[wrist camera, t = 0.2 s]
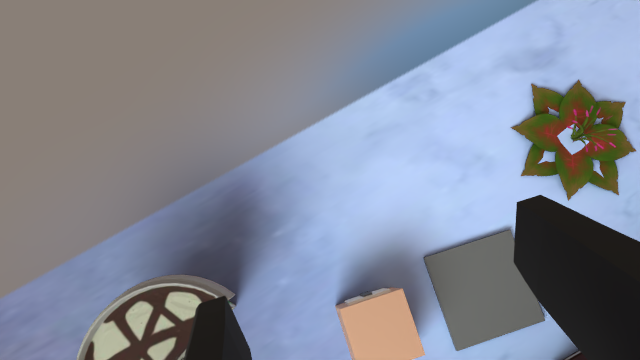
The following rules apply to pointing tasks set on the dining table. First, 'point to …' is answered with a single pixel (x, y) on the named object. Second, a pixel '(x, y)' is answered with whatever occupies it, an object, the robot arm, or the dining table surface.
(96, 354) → the food container
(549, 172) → the lily flower
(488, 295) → the charcoal pad
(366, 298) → the letter cube
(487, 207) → the dining table surface
